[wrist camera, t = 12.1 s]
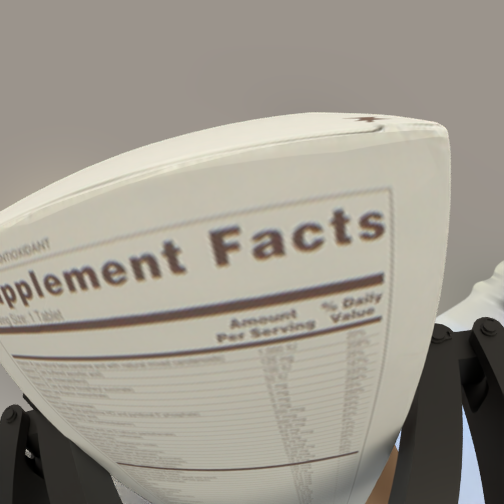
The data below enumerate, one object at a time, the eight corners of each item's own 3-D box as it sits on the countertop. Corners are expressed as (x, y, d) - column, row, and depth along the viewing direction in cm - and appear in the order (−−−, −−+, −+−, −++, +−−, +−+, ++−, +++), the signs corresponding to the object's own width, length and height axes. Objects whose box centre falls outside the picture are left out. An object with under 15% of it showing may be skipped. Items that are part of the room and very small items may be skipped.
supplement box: (336, 389, 18) (317, 110, 11) (366, 511, 10) (479, 116, 3) (197, 407, 19) (97, 159, 11) (185, 527, 10) (-71, 249, 3)
